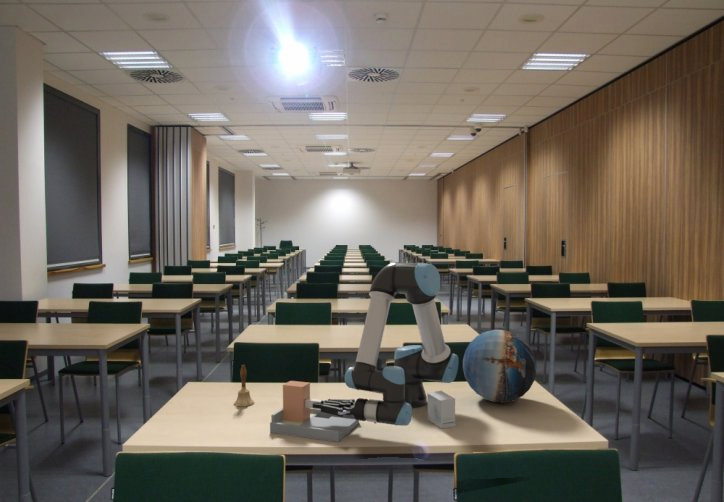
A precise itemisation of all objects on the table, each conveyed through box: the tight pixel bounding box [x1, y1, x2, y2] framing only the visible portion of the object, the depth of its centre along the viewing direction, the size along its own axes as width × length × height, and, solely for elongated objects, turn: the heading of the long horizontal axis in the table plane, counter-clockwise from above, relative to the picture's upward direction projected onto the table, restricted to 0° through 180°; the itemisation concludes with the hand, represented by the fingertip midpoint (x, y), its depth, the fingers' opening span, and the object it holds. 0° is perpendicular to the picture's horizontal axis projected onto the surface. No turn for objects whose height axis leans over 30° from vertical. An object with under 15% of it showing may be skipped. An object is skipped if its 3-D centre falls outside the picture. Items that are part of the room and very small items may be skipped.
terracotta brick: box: [282, 380, 311, 423], centre depth 203 cm, size 8×6×13 cm
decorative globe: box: [462, 329, 538, 404], centre depth 231 cm, size 30×30×30 cm
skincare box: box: [426, 390, 456, 429], centre depth 204 cm, size 10×6×10 cm, turn 21°
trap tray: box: [269, 407, 360, 443], centre depth 199 cm, size 26×20×6 cm
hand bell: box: [233, 364, 255, 408], centre depth 227 cm, size 8×8×16 cm
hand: (306, 403), depth 201 cm, fingers closed
